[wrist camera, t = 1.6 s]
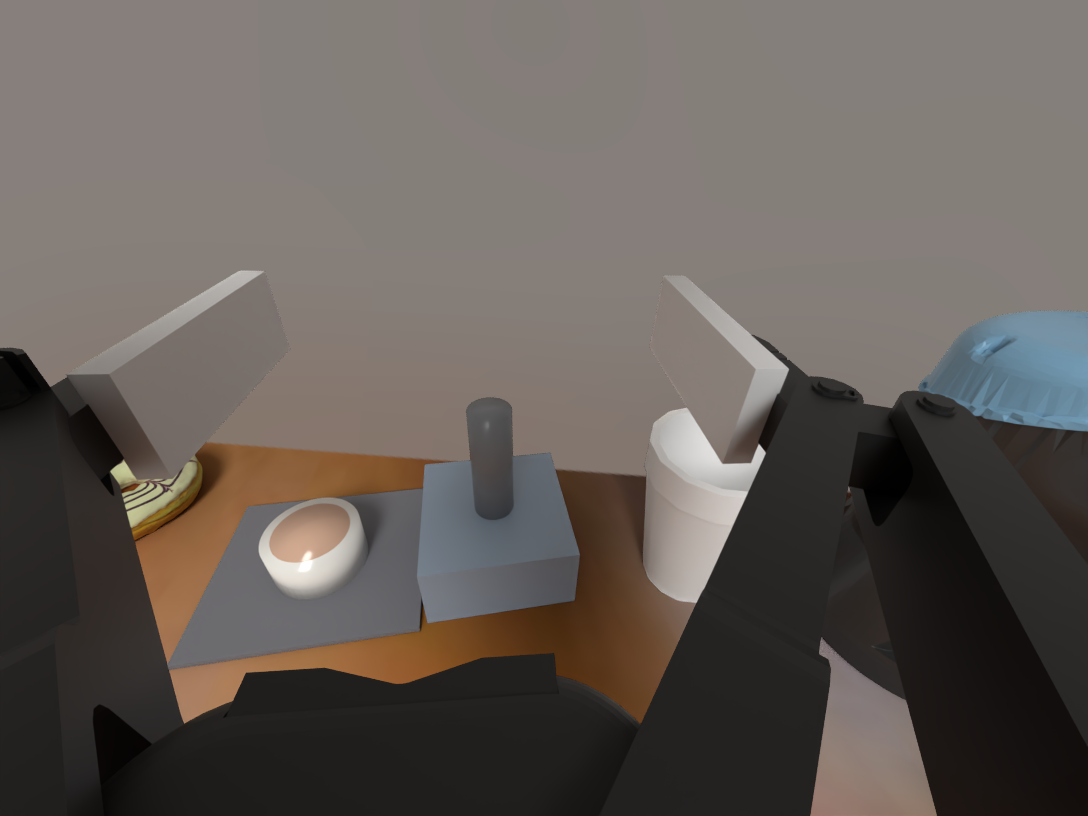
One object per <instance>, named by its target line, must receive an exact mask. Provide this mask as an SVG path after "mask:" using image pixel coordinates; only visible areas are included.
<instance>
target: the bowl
mask: <svg viewBox="0 0 1088 816" xmlns="http://www.w3.org/2000/svg"><path fill="white" fill-rule="evenodd" d="M368 550H369V548H368V542H367V539H366V536H365V532H364V529H363V526H362V523H361V520H360V517H359V513H358V511H357V509H356V508H355V507H354V506H353V505H352V504H351V503H349V502H347V501H345V500H342V499H339V498H318V499H313V500H309V501H306V502H303V503H300V504H298V505H295V506H293V507H291V508H290V509H288V510H286V511H285V512H283V513H282V514H280V515H279V516H278V517H277V518H275V519H274V520H273V521H272V522H271V523H270V524H269V526H268V527H267V528H266V530H265V531H264V533H263V535H262V536H261V539H260V542H259V555H260V557H261V559H262V561H263V563H264V565H265V566H266V568H267V570H268V572H269V574H270V576H271V577H272V579H273V581H274V583H275V585H276V587H277V588H278V590H279V591H280V592H281V593H282V594H284V595H285V596H287V597H290V598H293V599H298V600H310V599H316V598H320V597H324V596H327V595H329V594H332V593H334V592H335V591H337V590H339V589H341V588H342V587H344V586H345V585H347V584H348V583H349V582H350V581H351V580H353V579H354V578H355V577H356V575H357V574H358V573H359V572H360V571H361V569H362V568H363V566H364V564H365V562H366V560H367V556H368Z"/></svg>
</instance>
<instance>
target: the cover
mask: <svg viewBox="0 0 1088 816" xmlns="http://www.w3.org/2000/svg"><path fill="white" fill-rule="evenodd" d="M466 415H467V426H468V437H469V448H470V460H469V461H458V462H447V463H437V464H426V465H425V471H424V485H423V499H422V513H421V527H420V541H419V555H418V569H417V579H418V584H419V588H420V592H421V597H422V601H423V606H424V610H425V614H426V619H427V623H432V622H439V621H445V620H452V619H458V618H465V617H471V616H478V615H484V614H491V613H498V612H504V611H511V610H517V609H524V608H530V607H537V606H543V605H550V604H556V603H563V602H570V601H575V592H576V584H577V576H578V567H579V559H580V553H579V550H578V546H577V543H576V539H575V536H574V532H573V529H572V525H571V522H570V519H569V515H568V512H567V508H566V505H565V501H564V498H563V495H562V491H561V488H560V484H559V481H558V477H557V474H556V471H555V467H554V464H553V460H552V457H551V453H542V454H532V455H521V456H513V444H512V441H513V440H512V407H511V405H510V404H509V403H508V402H506V401H505V400H502V399H499V398H482V399H478V400H476V401H474V402H472V403H471V404H470V405H469V406H468V407H467V409H466Z"/></svg>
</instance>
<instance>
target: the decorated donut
mask: <svg viewBox="0 0 1088 816" xmlns="http://www.w3.org/2000/svg"><path fill="white" fill-rule="evenodd" d="M110 472H111V473H112V475H113V476H114V477H115V479H116V480H117V482H118V483H119V485H120V488H121V492H122V496H123V500H124V504H125V507H126V511H127V515H128V519H129V522H130V526H131V530H132V534H133V537H134V541H135V540H136V539H138V538H141V537H142V536H144V535H146V534H150V533H152V532H154V531H156V530H157V529H158V528H159V527H160V526H162V525H163V524H164V523H166V522H168V521H170V520H172V519H173V518H175V517H176V516H177V515H178V514H180V513H181V512H182V511H183V510H185V509H186V508H187V507H188V506H189V505H190V504H191V503H193V501H194V499H195V498H196V496H197V495H198V492H199V490H200V488H201V484H202V466H201V464H200V462H199V461H198V459H197V458H196V456H195V455H194V456H193V457H192V458H191V459H190V460H189V461H188V463H187V464H186V465H185V466H184V467H183V468H182V469H181V470H180V471H179V472H178V474H177V475H176V476H175V477H174V478H173V479H145V480H137V479H136V478H135V476H134V475H133V473H132V472H131V470H130V469H129V467H128V466H127V464H126V463H125V461H124V460H122V461H121V462H120V463H119V464H118V465H117V466H115V467H114V468H113V469H112V470H111V471H110Z"/></svg>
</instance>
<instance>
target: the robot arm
mask: <svg viewBox="0 0 1088 816" xmlns="http://www.w3.org/2000/svg"><path fill="white" fill-rule="evenodd" d="M650 349H651V351H652V352H653V354H654V355H655V357H656V359H657V360H658V362H659V364H660V365H661V367H662V368H663V370H664V372H665V373H666V375H667V376H668V378H669V380H670V381H671V383H672V384H673V386H674V388H675V389H676V391H677V392H678V394H679V395H680V397H681V399H682V400H683V402H684V404H685V405H686V407H687V408H688V410H689V412H690V413H691V415H692V416H693V418H694V419H695V421H696V423H697V424H698V426H699V427H700V429H701V431H702V432H703V434H704V435H705V437H706V439H707V440H708V442H709V443H710V445H711V447H712V448H713V450H714V451H715V453H716V455H717V456H718V458H719V459H720V461H721V463H722V464H741V463H751V462H752V460H753V457H754V455H755V452H756V450H757V447H758V445H760V446H761V447H762V449H763V450H764V451H765V452H766V454H765V456H764V458H763V461H762V463H761V465H760V467H759V469H758V472H757V474H756V476H755V478H754V480H753V483H752V485H751V487H750V489H749V491H748V494H747V496H746V498H745V500H744V502H743V505H742V507H741V509H740V511H739V513H738V516H737V518H736V520H735V522H734V524H733V527H732V529H731V531H730V533H729V535H728V538H727V540H726V542H725V544H724V546H723V548H722V551H721V553H720V555H719V557H718V559H717V562H716V564H715V566H714V568H713V570H712V573H711V575H710V577H709V579H708V581H707V584H706V586H705V588H704V590H703V591H702V592H701V594H700V597H699V599H698V601H697V603H696V605H695V607H694V609H693V612H692V614H691V616H690V618H689V620H688V623H687V625H686V627H685V629H684V631H683V634H682V636H681V638H680V640H679V642H678V644H677V647H676V649H675V651H674V653H673V655H672V658H671V660H670V662H669V664H668V666H667V668H666V671H665V673H664V675H663V677H662V679H661V682H660V684H659V686H658V688H657V690H656V692H655V695H654V697H653V699H652V701H651V703H650V706H649V708H648V710H647V712H646V714H645V717H644V719H643V721H642V723H641V725H640V723H639V722H638V721H637V720H636V719H635V718H634V717H632V716H631V715H630V714H629V713H628V712H627V711H626V710H625V709H623V708H622V707H621V706H620V705H619V704H617V703H616V702H614V701H613V700H612V699H610V698H609V697H607V696H606V695H605V694H603V693H601V692H599V691H597V690H595V689H593V688H592V687H590V686H588V685H585V684H583V683H580V682H578V681H575V680H572V679H569V678H565V677H561V676H557V675H556V667H555V657H554V653H551V654H536V655H520V656H504V657H488V658H480V659H477V660H474V661H471V662H468V663H465V664H462V665H459V666H456V667H454V668H451V669H448V670H445V671H442V672H439V673H436V674H433V675H430V676H427V677H424V678H421V679H418V680H415V681H412V682H409V683H405V684H393V683H389V682H384V681H380V680H375V679H371V678H367V677H362V676H358V675H354V674H349V673H345V672H341V671H336V670H332V669H328V668H315V669H299V670H283V671H268V672H252V673H246V674H245V676H244V678H243V681H242V683H241V685H240V687H239V689H238V691H237V694H236V696H235V698H234V700H233V701H232V702H229V703H226V704H224V705H221V706H219V707H217V708H215V709H212V710H210V711H208V712H205V713H203V714H201V715H199V716H198V717H196V718H194V719H192V720H190V721H188V722H187V723H185V724H184V722H183V720H182V717H181V714H180V710H179V707H178V703H177V699H176V695H175V692H174V688H173V684H172V680H171V676H170V673H169V669H168V665H167V661H166V658H165V654H164V650H163V646H162V643H161V639H160V635H159V631H158V628H157V624H156V620H155V616H154V613H153V609H152V605H151V601H150V598H149V594H148V590H147V586H146V582H145V579H144V575H143V571H142V567H141V564H140V560H139V556H138V552H137V549H136V545H135V541H134V537H133V534H132V530H131V526H130V522H129V519H128V515H127V511H126V507H125V504H124V500H123V496H122V492H121V488H120V485H119V483H118V482H117V480H116V479H115V477H114V476H113V475H112V473H111V472H110V471H111V470H112V469H113V468H114V467H115V466H117V465H118V464H119V463H120V462H121V461H122V460H124V461H125V463H126V464H127V466H128V467H129V469H130V470H131V472H132V473H133V475H134V476H135V478H136V479H137V480H145V479H173V478H174V477H175V476H176V475H177V474H178V472H179V471H180V470H181V469H182V468H183V467H184V466H185V465H186V464H187V463H188V461H189V460H190V459H191V458H192V457H193V456H194V455H195V454H196V453H197V451H198V450H199V449H200V448H201V447H202V446H203V445H204V444H205V443H206V442H207V440H208V439H209V438H210V437H211V436H212V435H213V434H214V433H215V431H216V430H217V429H218V428H219V427H220V426H221V425H222V423H224V422H225V420H226V419H227V418H228V417H229V416H230V415H231V414H232V413H233V412H234V411H235V409H236V408H237V407H238V406H239V405H240V404H241V403H242V401H243V400H244V399H245V398H246V397H247V396H248V395H249V394H250V393H251V391H253V390H254V388H255V387H256V386H257V385H258V384H259V383H260V382H261V381H262V380H263V378H264V377H265V376H266V375H267V374H268V373H269V371H271V370H272V369H273V367H274V366H275V365H276V364H277V363H278V362H279V361H280V360H281V358H282V357H283V356H284V355H285V354H286V353H287V352H288V351H289V350H290V346H289V343H288V340H287V337H286V334H285V331H284V328H283V325H282V322H281V319H280V316H279V313H278V310H277V306H276V303H275V300H274V297H273V294H272V291H271V288H270V285H269V282H268V279H267V276H266V273H265V271H238V272H237V273H235V274H233V275H232V276H230V277H228V278H227V279H225V280H223V281H222V282H220V283H218V284H217V285H215V286H213V287H212V288H210V289H208V290H207V291H205V292H203V293H202V294H200V295H198V296H197V297H195V298H193V299H192V300H190V301H188V302H186V303H185V304H183V305H181V306H180V307H178V308H176V309H175V310H173V311H171V312H170V313H168V314H166V315H165V316H163V317H161V318H160V319H158V320H157V321H155V322H153V323H151V324H150V325H148V326H146V327H145V328H143V329H141V330H140V331H138V332H136V333H135V334H133V335H131V336H130V337H128V338H126V339H124V340H123V341H121V342H119V343H118V344H116V345H114V346H113V347H111V348H109V349H108V350H106V351H104V352H103V353H101V354H99V355H98V356H96V357H95V358H93V359H91V360H89V361H88V362H86V363H84V364H83V365H81V366H79V367H78V368H76V369H74V370H73V371H71V372H69V373H68V374H66V375H67V378H65V379H63V380H62V381H60V382H58V383H57V384H55V385H53V386H52V387H50V386H49V385H48V383H47V382H46V381H45V379H44V378H43V376H42V375H41V374H40V372H39V371H38V369H37V368H36V367H35V365H34V364H33V362H32V361H31V360H30V358H29V357H28V355H27V354H26V353H25V352H24V351H23V350H22V349H16V348H0V816H810V814H811V807H812V801H813V794H814V787H815V781H816V774H817V767H818V760H819V754H820V747H821V740H822V734H823V727H824V720H825V714H826V707H827V700H828V693H829V687H830V673H831V668H830V664H829V660H828V659H826V658H825V657H823V656H821V655H819V647H820V640H821V636H822V637H823V638H824V639H825V640H826V642H827V643H828V644H829V645H830V646H831V647H832V648H833V649H834V650H835V651H836V652H837V653H838V654H839V655H841V656H842V657H843V658H844V659H845V660H846V661H847V662H848V663H850V664H851V665H852V666H853V667H855V668H856V669H857V670H858V671H860V672H861V673H862V674H864V675H865V676H866V677H868V678H869V679H871V680H872V681H874V682H875V683H877V684H878V685H880V686H881V687H883V688H885V689H886V690H888V691H890V692H892V693H893V694H895V695H897V696H899V697H901V698H903V699H905V700H906V701H907V705H908V708H909V712H910V716H911V720H912V723H913V727H914V731H915V735H916V738H917V742H918V746H919V750H920V753H921V757H922V761H923V765H924V768H925V772H926V776H927V780H928V783H929V787H930V791H931V794H932V798H933V802H934V806H935V809H936V813H937V816H1088V312H1080V311H1030V312H1019V313H1012V314H1005V315H1000V316H996V317H992V318H989V319H987V320H984V321H981V322H979V323H977V324H975V325H973V326H971V327H969V328H968V329H966V330H965V331H964V332H963V333H961V334H960V335H959V337H958V338H957V339H956V340H955V341H954V342H953V344H952V345H951V347H950V348H949V349H948V351H947V352H946V354H945V355H944V356H943V358H942V359H941V360H940V362H939V363H938V365H937V366H936V367H935V369H934V370H933V372H932V373H931V374H930V375H928V376H927V377H925V378H924V379H923V380H922V382H921V383H920V385H919V387H918V388H919V391H906V392H904V393H902V394H901V395H900V396H899V398H898V400H897V401H896V403H895V405H894V406H893V408H887V407H881V406H875V405H868V404H863V402H864V401H863V397H862V395H861V394H860V393H859V392H858V391H857V390H856V389H854V388H852V387H850V386H848V385H846V384H844V383H842V382H839V381H836V380H833V379H828V378H824V377H812V376H811V377H808V376H807V375H806V374H805V373H804V372H803V371H801V370H800V369H799V368H798V367H797V366H796V365H794V364H793V363H792V362H791V361H790V360H787V358H786V357H785V356H784V355H783V354H782V353H779V351H778V350H777V349H775V347H773V346H772V345H771V344H770V343H769V342H767V341H765V340H763V339H761V338H759V337H756V336H755V335H750V334H749V333H748V332H747V331H746V330H745V329H744V328H743V327H741V326H740V325H739V324H738V323H737V322H736V321H735V320H734V319H732V318H731V317H730V316H729V315H728V314H727V313H726V312H725V311H723V310H722V309H721V308H720V307H719V306H718V305H717V304H716V303H714V302H713V301H712V300H711V299H710V298H709V297H708V296H707V295H706V294H705V293H703V292H702V291H701V290H700V289H699V288H698V287H697V286H696V285H694V284H693V283H692V282H691V281H690V280H689V279H688V278H687V277H685V276H663V281H662V285H661V291H660V296H659V301H658V306H657V312H656V317H655V322H654V327H653V333H652V338H651V343H650ZM848 486H849V487H850V491H851V495H852V496H851V497H850V498H848V499H847V500H846V496H847V491H848Z"/></svg>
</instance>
